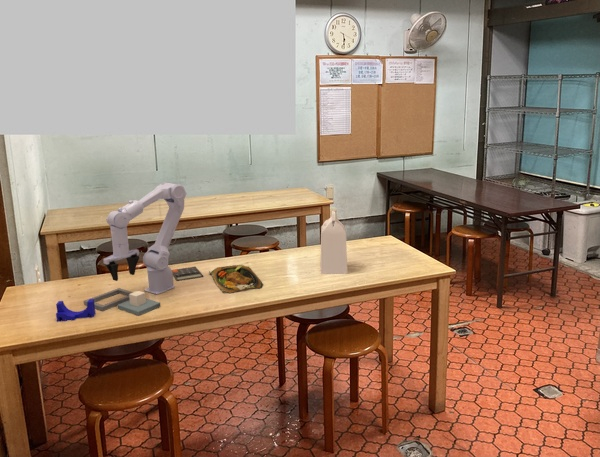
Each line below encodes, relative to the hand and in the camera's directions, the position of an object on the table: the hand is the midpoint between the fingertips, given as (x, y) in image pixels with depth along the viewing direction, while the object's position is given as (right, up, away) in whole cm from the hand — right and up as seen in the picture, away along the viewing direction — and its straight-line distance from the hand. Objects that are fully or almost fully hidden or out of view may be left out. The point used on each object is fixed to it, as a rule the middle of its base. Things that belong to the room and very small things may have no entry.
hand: (124, 277), depth 198 cm
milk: (+82, 0, +33) cm, 88 cm away
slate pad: (+7, -11, -5) cm, 14 cm away
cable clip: (-13, -14, -12) cm, 22 cm away
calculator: (+17, -2, +31) cm, 36 cm away
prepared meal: (+40, -4, +23) cm, 46 cm away
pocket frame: (-6, -9, +2) cm, 11 cm away
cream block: (+7, -9, -5) cm, 13 cm away
